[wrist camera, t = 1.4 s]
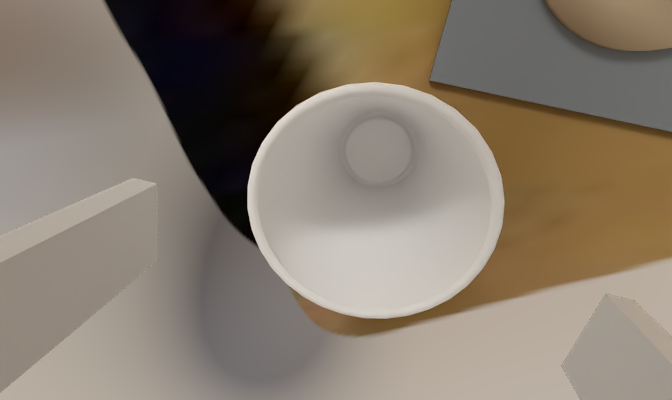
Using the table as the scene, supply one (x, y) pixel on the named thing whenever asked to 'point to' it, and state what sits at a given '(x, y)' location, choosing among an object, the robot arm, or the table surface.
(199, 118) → the table surface
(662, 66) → the placemat
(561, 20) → the coaster
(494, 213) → the cup
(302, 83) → the table surface
